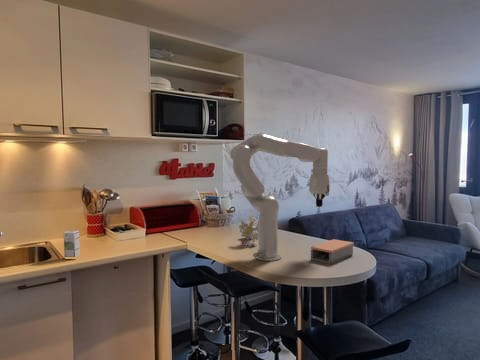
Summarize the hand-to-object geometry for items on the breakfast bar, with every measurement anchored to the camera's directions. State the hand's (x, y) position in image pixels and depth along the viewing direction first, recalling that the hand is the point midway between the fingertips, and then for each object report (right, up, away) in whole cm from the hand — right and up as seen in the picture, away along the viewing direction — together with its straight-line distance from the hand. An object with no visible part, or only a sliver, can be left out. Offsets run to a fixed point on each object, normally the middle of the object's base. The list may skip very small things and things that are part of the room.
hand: (319, 206), depth 178 cm
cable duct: (+5, -25, -8) cm, 27 cm away
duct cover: (+5, -20, -8) cm, 22 cm away
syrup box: (-130, -27, -1) cm, 133 cm away
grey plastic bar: (+5, -25, -8) cm, 27 cm away
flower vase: (-36, -24, +28) cm, 52 cm away
